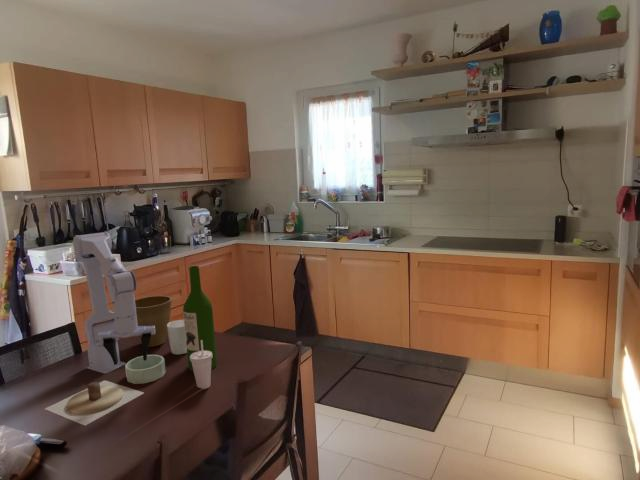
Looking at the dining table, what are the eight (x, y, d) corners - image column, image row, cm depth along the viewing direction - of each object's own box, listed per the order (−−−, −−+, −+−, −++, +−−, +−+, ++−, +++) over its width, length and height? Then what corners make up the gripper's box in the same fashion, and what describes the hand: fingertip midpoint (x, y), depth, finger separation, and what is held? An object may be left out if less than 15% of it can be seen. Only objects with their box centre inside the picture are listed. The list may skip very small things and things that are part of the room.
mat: (44, 410, 122) (44, 408, 122) (104, 381, 137) (104, 380, 137) (85, 427, 113) (85, 425, 113) (144, 394, 128) (144, 392, 128)
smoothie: (209, 392, 128) (205, 345, 126) (188, 390, 129) (183, 344, 127) (218, 381, 134) (214, 336, 132) (198, 380, 136) (194, 335, 133)
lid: (55, 407, 123) (53, 390, 122) (102, 384, 135) (100, 369, 134) (87, 419, 116) (85, 402, 115) (133, 394, 128) (132, 378, 127)
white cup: (172, 347, 162) (169, 320, 160) (195, 345, 163) (192, 318, 161) (167, 356, 154) (164, 328, 153) (190, 354, 155) (188, 326, 153)
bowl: (119, 381, 138) (117, 366, 137) (148, 366, 147) (147, 352, 146) (143, 388, 132) (142, 373, 132) (172, 372, 142) (171, 358, 141)
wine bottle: (182, 370, 143) (172, 269, 138) (200, 358, 151) (191, 263, 146) (206, 374, 140) (196, 271, 134) (222, 361, 148) (214, 264, 142)
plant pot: (183, 337, 171) (179, 296, 168) (156, 353, 157) (151, 308, 154) (152, 333, 176) (147, 294, 173) (123, 348, 162) (118, 305, 160)
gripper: (93, 323, 120) (100, 371, 122) (151, 316, 124) (156, 362, 126) (98, 315, 127) (104, 360, 129) (153, 308, 130) (158, 353, 133)
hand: (130, 361), depth 128 cm, fingers open, 7 cm apart
